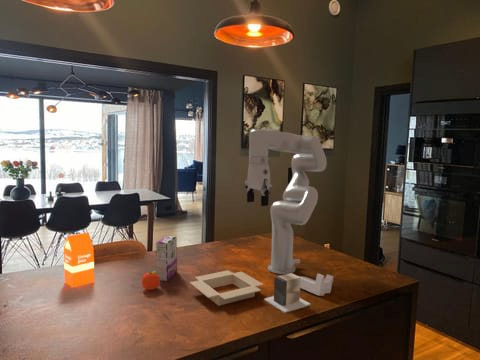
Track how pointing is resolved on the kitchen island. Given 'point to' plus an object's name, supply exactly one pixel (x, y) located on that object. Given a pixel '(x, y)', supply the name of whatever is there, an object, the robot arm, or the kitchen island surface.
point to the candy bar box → (166, 257)
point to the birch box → (286, 289)
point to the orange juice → (79, 260)
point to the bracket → (317, 284)
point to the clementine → (151, 280)
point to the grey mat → (288, 307)
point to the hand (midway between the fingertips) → (257, 203)
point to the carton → (225, 278)
